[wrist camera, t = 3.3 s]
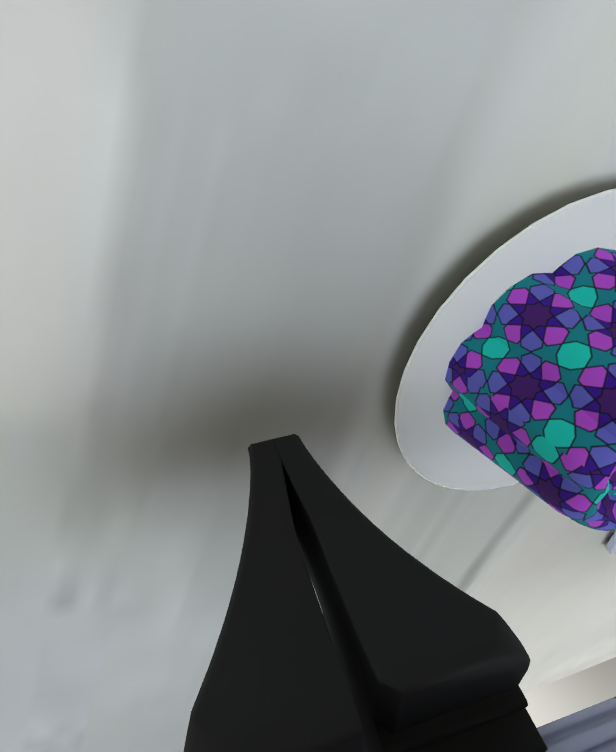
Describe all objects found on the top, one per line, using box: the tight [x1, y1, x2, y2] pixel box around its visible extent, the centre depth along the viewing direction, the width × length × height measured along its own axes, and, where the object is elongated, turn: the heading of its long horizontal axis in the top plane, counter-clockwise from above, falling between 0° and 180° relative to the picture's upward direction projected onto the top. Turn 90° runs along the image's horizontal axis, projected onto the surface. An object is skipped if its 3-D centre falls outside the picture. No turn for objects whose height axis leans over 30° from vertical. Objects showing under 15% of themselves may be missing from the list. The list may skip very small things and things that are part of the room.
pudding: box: [394, 189, 616, 531], centre depth 14 cm, size 12×12×5 cm
